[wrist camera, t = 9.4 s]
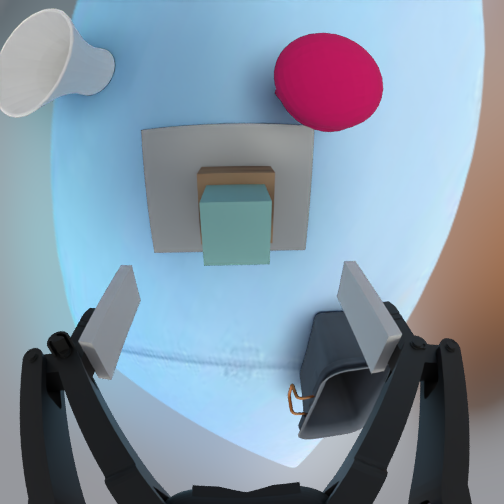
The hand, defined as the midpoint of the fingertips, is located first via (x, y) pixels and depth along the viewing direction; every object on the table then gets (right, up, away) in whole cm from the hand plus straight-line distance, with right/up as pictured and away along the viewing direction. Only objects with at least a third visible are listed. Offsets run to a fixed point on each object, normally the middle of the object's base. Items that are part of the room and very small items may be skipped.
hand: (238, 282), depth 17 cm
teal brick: (-1, +6, +13) cm, 14 cm away
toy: (+6, +20, +12) cm, 24 cm away
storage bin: (+14, -15, +31) cm, 37 cm away
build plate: (-2, +10, +17) cm, 19 cm away
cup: (-19, +24, +8) cm, 32 cm away
